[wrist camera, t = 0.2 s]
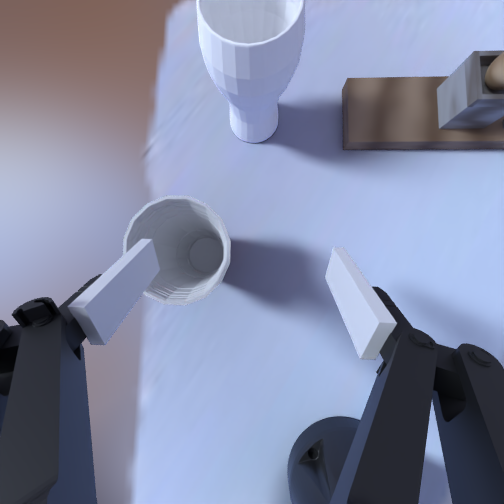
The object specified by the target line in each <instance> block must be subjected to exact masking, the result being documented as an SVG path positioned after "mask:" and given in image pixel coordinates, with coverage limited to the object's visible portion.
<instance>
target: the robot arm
mask: <svg viewBox="0 0 504 504" xmlns="http://www.w3.org/2000/svg"><path fill="white" fill-rule="evenodd" d="M159 270H160V268H159V264H158V260H157V256H156V252H155V248H154V244H153V240H152V239H141V240H140V241H139V242H138V243H136V244H135V245H134V246H133V247H132V248H131V249H130V250H129V251H128V252H127V253H126V254H124V255H123V256H122V257H121V258H120V259H119V260H118V261H117V262H116V263H115V264H113V265H112V266H111V267H110V268H109V269H108V270H107V271H106V272H105V273H104V274H100V275H98V276H96V277H94V278H92V279H90V280H89V281H88V282H87V283H86V284H85V285H84V286H83V287H81V288H80V289H79V290H78V292H76V293H74V294H73V295H72V296H71V297H70V298H69V299H68V300H67V301H65V302H64V303H63V304H62V305H61V306H60V307H59V308H58V307H57V306H56V304H55V303H54V301H53V300H52V299H51V298H48V297H44V298H43V297H42V298H37V299H34V300H31V301H29V302H26V303H24V304H23V305H21V306H19V307H18V308H17V309H16V310H14V312H13V314H12V316H13V317H14V318H15V320H16V321H17V322H18V323H19V324H20V325H16V326H10V327H9V326H8V325H7V324H6V323H5V322H4V321H3V320H0V504H97V498H96V489H95V476H94V465H93V453H92V441H91V430H90V418H89V406H88V395H87V383H86V370H85V358H84V348H83V346H82V344H81V343H82V342H83V341H84V339H85V338H86V337H87V339H88V340H89V342H90V344H91V345H106V344H107V342H108V341H109V339H110V338H111V337H112V335H113V334H114V333H115V331H116V330H117V328H118V327H119V326H120V324H121V323H122V322H123V320H124V319H125V317H126V316H127V315H128V313H129V312H130V311H131V309H132V308H133V306H134V305H135V304H136V302H137V301H138V299H139V298H140V297H141V295H142V294H143V293H144V291H145V290H146V288H147V287H148V286H149V284H150V283H151V281H152V280H153V279H154V277H155V276H156V275H157V273H158V272H159ZM325 279H326V281H327V283H328V286H329V288H330V290H331V292H332V295H333V297H334V299H335V302H336V304H337V306H338V309H339V311H340V313H341V316H342V318H343V320H344V323H345V325H346V327H347V330H348V332H349V334H350V337H351V339H352V341H353V344H354V346H355V348H356V351H357V353H358V355H359V358H360V359H368V360H376V358H377V356H378V355H379V353H380V354H381V356H382V358H383V360H384V361H383V362H382V364H381V365H380V367H379V369H378V370H377V372H376V373H378V375H377V377H376V380H375V383H374V385H373V388H372V391H371V393H370V396H369V399H368V402H367V404H366V407H365V410H364V412H363V415H362V418H361V420H360V421H359V420H356V419H352V418H347V417H331V418H326V419H323V420H320V421H318V422H316V423H314V424H312V425H311V426H310V427H308V428H307V429H306V430H305V431H304V432H303V433H302V434H301V435H300V436H299V437H298V439H297V440H296V442H295V444H294V446H293V448H292V450H291V453H290V456H289V461H288V483H289V490H290V497H291V502H292V504H418V501H419V493H420V485H421V478H422V470H423V462H424V455H425V447H426V439H427V431H428V424H429V416H430V408H431V401H432V400H433V405H434V410H435V415H436V421H437V426H438V431H439V436H440V441H441V446H442V452H443V457H444V462H445V467H446V472H447V477H448V483H449V488H450V493H451V498H452V503H453V504H504V369H503V367H502V365H501V364H500V363H499V361H498V360H497V359H496V358H495V357H494V356H492V355H491V354H490V353H488V352H487V351H485V350H484V349H482V348H479V347H477V346H475V345H471V344H461V345H460V346H459V347H458V348H457V349H453V348H449V347H446V346H443V345H439V344H436V343H435V341H434V340H433V339H432V338H431V337H430V336H429V335H427V334H426V333H424V332H422V331H420V330H418V329H415V328H413V327H412V326H411V324H410V323H409V322H408V321H407V319H406V318H405V317H404V315H403V314H402V313H401V311H400V310H399V309H398V307H396V305H395V304H394V302H393V301H392V300H391V298H390V297H389V296H388V294H387V293H386V292H384V291H383V290H382V289H380V288H379V287H371V285H370V284H369V282H368V281H367V280H366V278H365V277H364V275H363V274H362V272H361V271H360V270H359V268H358V267H357V265H356V264H355V262H354V261H353V260H352V258H351V257H350V255H349V254H348V252H347V251H346V250H345V248H344V247H333V250H332V253H331V257H330V261H329V265H328V268H327V272H326V276H325Z"/></svg>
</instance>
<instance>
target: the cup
mask: <svg viewBox="0 0 504 504" xmlns="http://www.w3.org/2000/svg"><path fill="white" fill-rule="evenodd" d="M196 2H197V18H198V33H199V43H200V47H201V51H202V54H203V58H204V62H205V65H206V67H207V70H208V72H209V75H210V76H211V78H212V80H213V81H214V83H215V85H216V86H217V88H218V89H219V91H220V92H221V93H222V95H223V96H224V97H225V98H226V99H227V100H228V101H229V104H230V124H231V128H232V130H233V132H234V133H235V135H236V136H237V137H238V138H240V139H241V140H243V141H246V142H249V143H258V142H262V141H264V140H267V139H268V138H269V137H271V136H272V134H273V133H274V132H275V130H276V128H277V126H278V104H277V103H278V100H279V97H280V96H281V94H282V93H283V92H284V91H285V90H286V88H287V86H288V84H289V82H290V80H291V78H292V76H293V74H294V72H295V70H296V68H297V66H298V63H299V60H300V55H301V50H302V45H303V40H304V33H305V0H196Z"/></svg>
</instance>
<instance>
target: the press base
mask: <svg viewBox="0 0 504 504" xmlns="http://www.w3.org/2000/svg"><path fill="white" fill-rule="evenodd" d="M503 52H504V51H474V52H473V53H472V54H471V55H470V56H469V57H468V58H467V59H466V60H465V61H464V62H463V63H462V64H461V65H460V66H459V67H458V68H457V69H456V70H455V71H454V72H453V73H452V74H451V75H450V76H445V77H387V78H347V80H346V83H345V85H344V87H343V89H342V112H343V150H402V149H504V89H503V90H493V89H490V88H489V87H488V86H487V85H486V83H485V74H486V71H487V69H488V67H489V66H490V65H491V63H492V62H493V61H494V60H495V59H496V58H497V57H498V56H499V55H500V54H502V53H503Z"/></svg>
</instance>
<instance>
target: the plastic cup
mask: <svg viewBox="0 0 504 504" xmlns="http://www.w3.org/2000/svg"><path fill="white" fill-rule="evenodd" d="M141 239H152V240H153V244H154V248H155V252H156V256H157V260H158V264H159V268H160V270H159V272H158V273H157V275H156V276H155V277H154V279H153V280H152V281H151V283H150V284H149V286H148V287H147V288H146V290H145V291H144V293H143V294H144V295H145V296H147V297H149V298H151V299H153V300H156V301H158V302H160V303H162V304H164V305H188V304H190V303H193V302H196V301H198V300H201V299H204V298H206V297H207V296H208V295H209V294H210V293H211V292H212V291H213V290H214V289H215V288H216V287H217V286H218V285H219V284H221V282H222V280H223V278H224V276H225V273H226V271H227V269H228V266H229V264H230V248H231V240H230V237H229V235H228V232H227V230H226V227H225V225H224V222H223V220H222V219H221V218H220V217H219V216H218V214H217V213H216V212H215V211H214V210H213V209H212V208H211V207H210V206H209V205H208V204H206V203H204V202H202V201H199V200H197V199H195V198H192V197H190V196H177V195H166V196H164V197H161V198H159V199H157V200H154V201H152V202H149V203H147V204H146V205H145V206H144V207H143V208H142V209H141V210H140V211H139V212H138V213H137V214H136V215H135V216H134V217H133V218H132V219H131V222H130V224H129V227H128V229H127V231H126V233H125V236H124V238H123V255H124V254H126V253H127V252H128V251H129V250H130V249H131V248H132V247H133V246H134V245H135V244H136V243H138V242H139V241H140V240H141Z"/></svg>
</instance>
